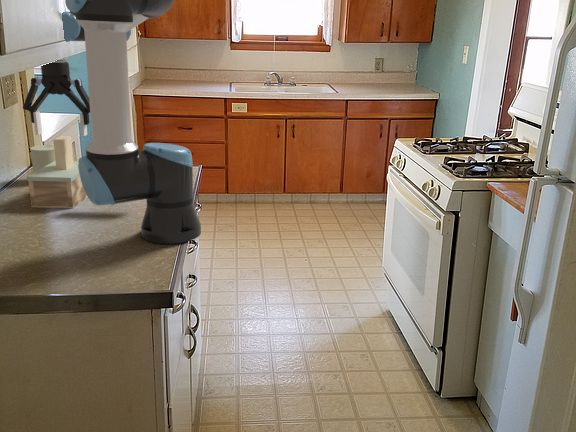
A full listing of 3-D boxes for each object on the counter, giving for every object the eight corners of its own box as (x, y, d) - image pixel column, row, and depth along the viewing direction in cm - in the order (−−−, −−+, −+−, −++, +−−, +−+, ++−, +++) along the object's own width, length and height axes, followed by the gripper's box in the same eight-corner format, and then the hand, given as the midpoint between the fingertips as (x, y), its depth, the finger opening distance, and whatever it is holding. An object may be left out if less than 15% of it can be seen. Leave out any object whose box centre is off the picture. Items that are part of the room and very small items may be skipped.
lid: (71, 181, 157) (67, 146, 154) (26, 180, 157) (22, 145, 154) (95, 165, 176) (92, 133, 173) (55, 164, 176) (52, 132, 173)
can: (68, 178, 191) (65, 144, 187) (55, 185, 182) (51, 149, 178) (42, 177, 192) (39, 142, 188) (28, 183, 183) (24, 148, 179)
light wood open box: (73, 208, 160) (70, 181, 157) (31, 207, 160) (28, 180, 157) (96, 189, 179) (94, 165, 176) (59, 188, 179) (56, 164, 176)
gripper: (102, 61, 162) (107, 133, 169) (17, 58, 162) (25, 131, 169) (93, 63, 155) (99, 138, 162) (4, 60, 155) (14, 135, 162)
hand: (61, 134), depth 165 cm, fingers open, 13 cm apart
